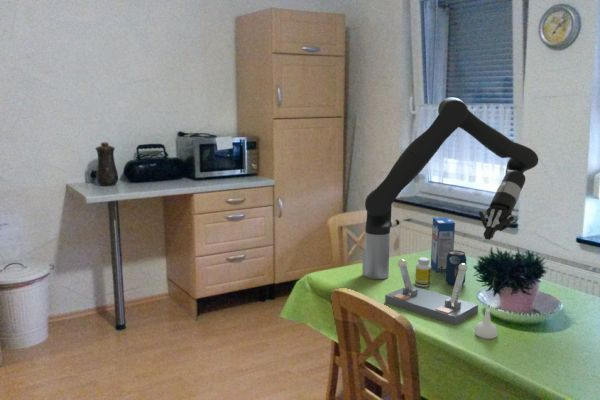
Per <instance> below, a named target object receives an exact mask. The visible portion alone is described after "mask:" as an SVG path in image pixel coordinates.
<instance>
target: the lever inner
mask: <svg viewBox="0 0 600 400" xmlns="http://www.w3.org/2000/svg"><path fill="white" fill-rule="evenodd" d="M397 265H398V267H399V271H400V274H401V278H402V281H403V284H404V287H405V289H406V292H408V293H411V290H413V288H412V286H413V284H412V282H411V277H410V274H409V271H408V267H407V261H406V260H405V259H400V260H398V261H397Z"/></svg>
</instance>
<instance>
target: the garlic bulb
mask: <svg viewBox="0 0 600 400" xmlns="http://www.w3.org/2000/svg"><path fill="white" fill-rule="evenodd" d="M490 311H491V310H490V309H488V308H487V309H485V312H484V318H483V319H482V321H479V322H477V324H476V325H475V327H474V334H475V335H476V336H477V337H479V338H481V339H485V340H492V339H495V338H497V336H498V333H499V332H498V328H497V325H496V324H495V323H492V321H491V313H490Z"/></svg>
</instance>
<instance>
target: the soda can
mask: <svg viewBox="0 0 600 400" xmlns="http://www.w3.org/2000/svg"><path fill="white" fill-rule="evenodd" d="M462 263H464V264H466V265H467V256H466V252H465V251H462V250H456V249H455V250H453V251H449V253H448V255H447V260H446V273H445V282H446V284H447V285H448V286H451V287H454V285H455V282H456V278H457V274H458V271H459V268H458V267H459V265H460V264H462ZM466 272H467V271H466ZM466 272H465V276H464V279H463V283H462V287H463V285H464V284H465V282H466V274H467V273H466Z"/></svg>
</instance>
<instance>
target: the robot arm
mask: <svg viewBox="0 0 600 400" xmlns="http://www.w3.org/2000/svg"><path fill="white" fill-rule="evenodd" d="M437 112H438V115H437V116H436V118H435V119H434V120H433V122H432V123H431V125H430V126H429V127H428V128H427V129H426V130H425V131H424V132H423V133H422V134H420V135H419V136H418V137H417V138H415V139H414V140H413V141H412V142H410V144H409V145H408V146H407V147H406V148H405V149H404V151H402V153H401V154H400V155H399V157H398V158H397V160H396V162H395V163H394V164H393V166H392V168H391V169H390V171H389V173H388V174H387V176H386V177H385V178H384V180H383V181H382V182H381V183H380V184H379V185H378V186H377V187H376V188H375V189H374V190H372V191H370V193H369V194H368V195H367V196H366V198H365V201H364V206H365V207H364V208H365V210H366V222H365V232H364V234H365V236H364V237H365V242H364V249H363V250H362V270H361V271H362V273H361V274H362V275H363V276H364V277H365V278H368V279H372V280H385V279H387V278H389V275H390V249H391V248H390V246H391V244H390V243H391V242H390V240H391V223H392V205H393V204H394V202H395V200H396V199H397V197H398V196H399V194H400V193H401V192H402V191H403V190H404V189H405V188H406V187H407V186H408V185H410V183H411V182H412V181H413V180H414V179H416V178H417V176H418V175H419V174H420V173H421V172H422V170H424V168H426V166H427V165H428V164H429V162H430V161H431V160H432V158H433V157H434V156H435V155H436V153H437V152H438V151H439V149H440V148H441V146H442V145H443V144H444V143H445V142H446V140H447V139H448V138H449V137H450V136H451V135H452V134H453V133H454V132H455V131H456V130H457V129H458V128H460V129H462V130H463V131H465V132H466V133H467V134H468V135H470V136H472V137H473V139H475V140H476V141H477V142H479V143H480V144H481V145H482V146H484V148H486V149H487V150H489V151H490V152H492V153H493V154H495V155H496V156H497V157H499V158H502V159H507V158H509V159H508V161H507V162H506V168H505V175H504V176H503V179H502V181H501V183H500V185H499V186H498V188H497V189H496V192H495V194H494V196H493V197H492V200H491V202H490V205H489V207H488V208H487V209H486V210H485V211H482V210H481V211H478V215H479V217H480V220H481V223H482V225H483V227H484V229H485V230H484V232H483V238H484V239H485V240H487V241H488V240H489V241H491V239H493V238H494V236H495V233H496V232H497V231H499V232H502V231H503V230H506V229H507V228H509V227H511V226H512V225H514V224H515V223H516V219H515V218H514V216H512V212H513V211H514V209H515V206H517V205H516V204H517V202H518V201H519V198H520V195H521V191H522V189H523V187H524V185H525V182H526V176H525V172H527V171H529V170H531V169H533V168H535V167H536V166H537V165H538V163H539V156H538V154H537V152H536V151H534V149H532V148H530V147H528V146H526V145H523V144H521V143H518V142H517V141H516V142H515V141H513V140H511V139H510V138H509V137H508V136H506V135H504V134H503V133H502V132H500V131H499V130H497V129H496V128H494V127H492V126H491V125H489V124H488V123H486V122H485V121H483V120H482V119H480V118H479V117H477V116H476V115H475V114H473V112H471V111H470V110H469V108H468V106H467V104H466V103H465V102H464V101H463V100H462V99H460V98H459V97H458V98H457V97H446V98H444V99H443V100H442V101H440V103H439V104H438V109H437ZM487 217H488V219H487ZM487 220H488V221H487Z"/></svg>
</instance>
